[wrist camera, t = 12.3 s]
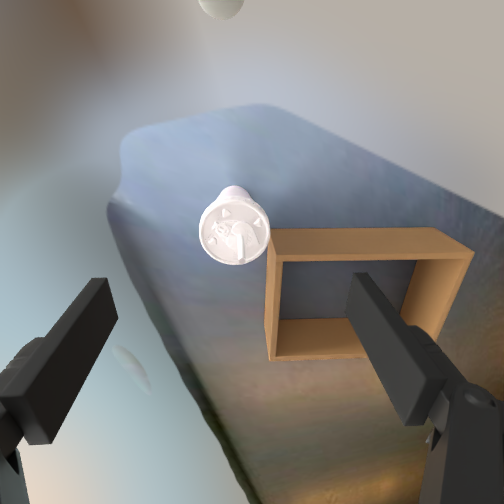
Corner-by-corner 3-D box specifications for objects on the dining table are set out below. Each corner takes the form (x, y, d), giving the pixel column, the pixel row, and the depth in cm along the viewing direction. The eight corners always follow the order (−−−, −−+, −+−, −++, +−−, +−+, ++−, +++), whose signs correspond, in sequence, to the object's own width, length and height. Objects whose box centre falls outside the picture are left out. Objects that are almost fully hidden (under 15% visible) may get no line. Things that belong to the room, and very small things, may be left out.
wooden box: (268, 228, 35) (276, 255, 29) (434, 227, 36) (475, 252, 30) (264, 324, 42) (269, 361, 36) (402, 319, 44) (430, 355, 37)
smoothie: (247, 233, 35) (254, 303, 23) (199, 213, 34) (179, 277, 21) (270, 187, 33) (293, 238, 20) (220, 163, 31) (211, 203, 19)
